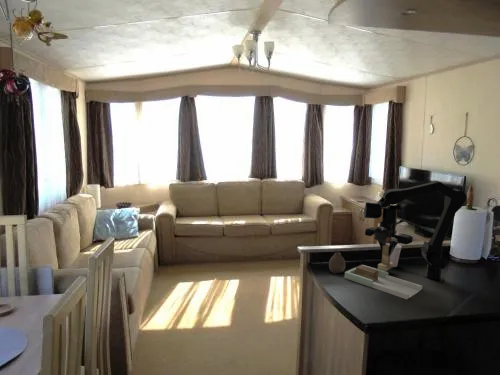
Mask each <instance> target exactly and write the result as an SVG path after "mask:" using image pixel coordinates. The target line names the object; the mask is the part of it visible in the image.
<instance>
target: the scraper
mask: <svg viewBox="0 0 500 375" xmlns="http://www.w3.org/2000/svg"><path fill="white" fill-rule="evenodd" d="M389 246H390V245H387V243H386V244H385V245H383V251H381V255H382V256H381V262H380V263H378V264H377V269H379V270H382V271H385V272H387V271H389V270H391V269H392V268H394V267H393V262H390V256H389Z"/></svg>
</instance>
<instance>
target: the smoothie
mask: <svg viewBox="0 0 500 375" xmlns="http://www.w3.org/2000/svg"><path fill="white" fill-rule="evenodd" d="M386 245H390V244H389V243H388V244H387V243H386ZM401 250H402V245H400V244H397V245H396V247H395V248H394V250H393V252H392V254H391V255H390V262H393V267H392V268H397V267H398V263H399V259H400V254H401Z"/></svg>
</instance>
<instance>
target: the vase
mask: <svg viewBox="0 0 500 375" xmlns="http://www.w3.org/2000/svg"><path fill="white" fill-rule="evenodd" d="M328 268H329V270H330V272H331V273H333V274H334V275H335V274H338V273H339V274H340V273H344V272H345V269H346V260H345V259H344V257H343V256H342V253H341V252H335V253H334V254H333V255H332V256H331V258H330V259H329V262H328Z"/></svg>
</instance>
